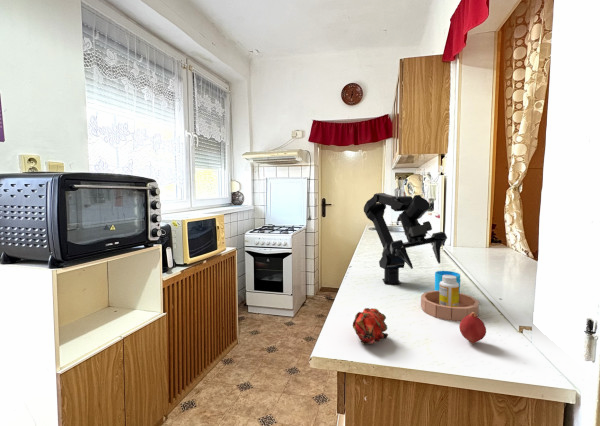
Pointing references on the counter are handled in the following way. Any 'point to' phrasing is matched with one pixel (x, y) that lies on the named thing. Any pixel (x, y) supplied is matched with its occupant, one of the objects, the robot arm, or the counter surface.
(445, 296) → the supplement bottle
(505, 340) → the counter surface
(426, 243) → the robot arm
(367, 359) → the counter surface
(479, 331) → the onion
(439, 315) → the bowl
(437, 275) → the mug
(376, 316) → the dragon fruit
